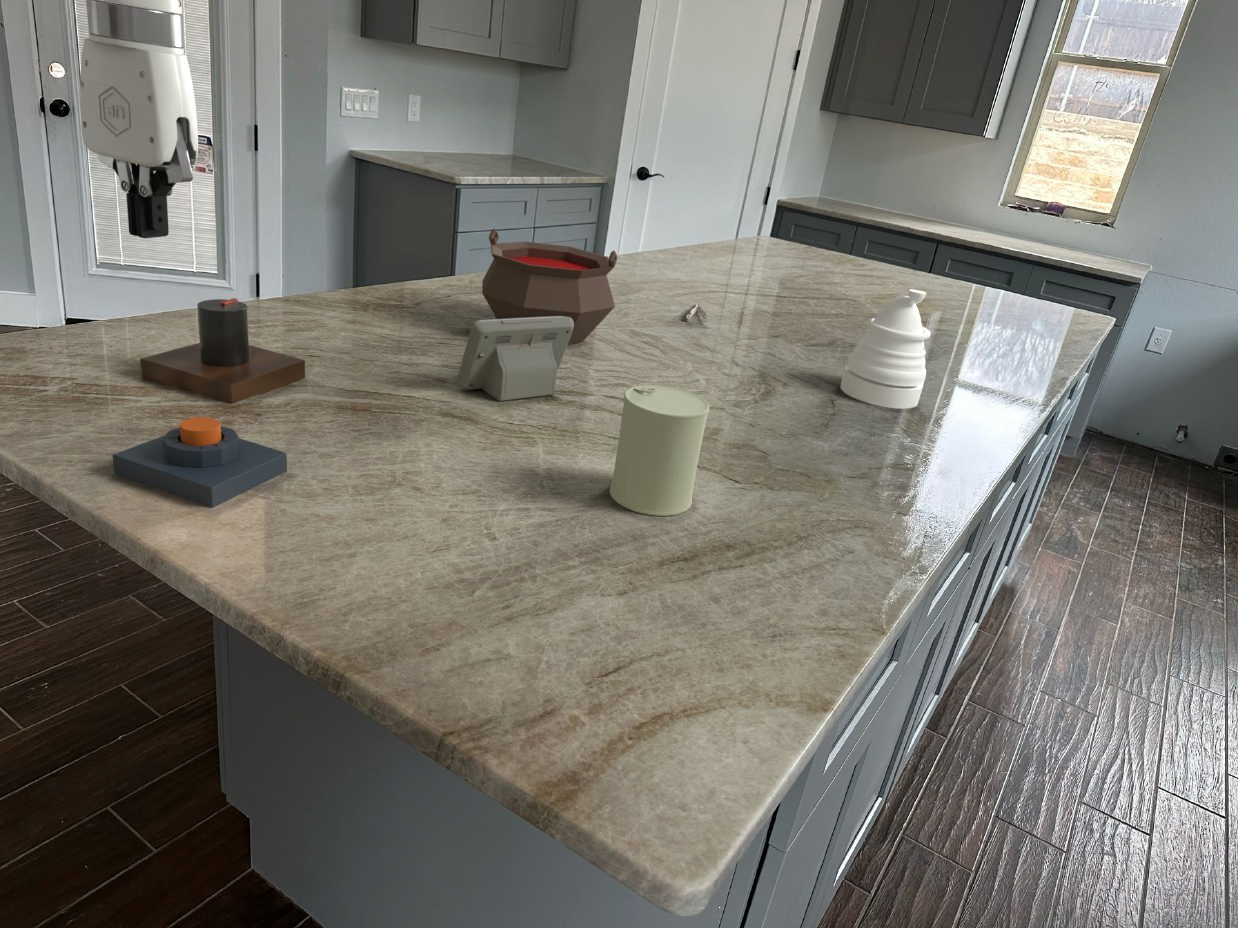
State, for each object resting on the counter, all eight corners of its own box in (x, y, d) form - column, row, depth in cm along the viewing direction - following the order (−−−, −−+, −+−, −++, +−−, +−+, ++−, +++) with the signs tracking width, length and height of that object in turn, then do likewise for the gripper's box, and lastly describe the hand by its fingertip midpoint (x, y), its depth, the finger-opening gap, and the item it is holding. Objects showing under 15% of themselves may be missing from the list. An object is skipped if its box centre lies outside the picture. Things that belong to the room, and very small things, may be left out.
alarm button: (172, 441, 82) (170, 424, 82) (201, 430, 86) (200, 414, 85) (201, 450, 81) (200, 434, 81) (229, 439, 85) (228, 423, 84)
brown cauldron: (626, 331, 157) (638, 242, 150) (590, 365, 135) (603, 262, 129) (504, 307, 161) (511, 219, 154) (450, 336, 139) (456, 235, 133)
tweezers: (708, 326, 169) (710, 316, 169) (685, 322, 169) (686, 312, 169) (707, 311, 186) (708, 302, 185) (685, 308, 186) (687, 299, 185)
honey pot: (934, 405, 141) (966, 299, 133) (881, 411, 134) (912, 299, 127) (876, 379, 150) (903, 278, 143) (824, 383, 143) (850, 278, 136)
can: (639, 471, 100) (654, 375, 95) (706, 499, 96) (726, 399, 91) (592, 494, 93) (607, 390, 88) (663, 525, 88) (682, 418, 84)
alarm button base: (114, 475, 82) (110, 437, 81) (195, 442, 91) (193, 408, 89) (212, 509, 79) (210, 470, 77) (287, 472, 88) (286, 436, 86)
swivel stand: (141, 377, 105) (139, 358, 104) (221, 354, 117) (220, 337, 116) (231, 404, 102) (230, 385, 101) (305, 378, 113) (304, 360, 112)
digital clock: (555, 377, 127) (562, 308, 123) (578, 399, 120) (587, 326, 115) (448, 380, 120) (452, 306, 116) (466, 403, 113) (472, 325, 108)
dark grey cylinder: (231, 369, 105) (228, 311, 102) (191, 360, 106) (186, 303, 103) (258, 357, 110) (256, 302, 107) (219, 349, 111) (215, 294, 108)
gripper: (36, 13, 75) (58, 223, 83) (164, 37, 71) (175, 255, 78) (112, 24, 82) (126, 218, 89) (233, 47, 78) (237, 248, 85)
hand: (149, 235), depth 84 cm, fingers closed
